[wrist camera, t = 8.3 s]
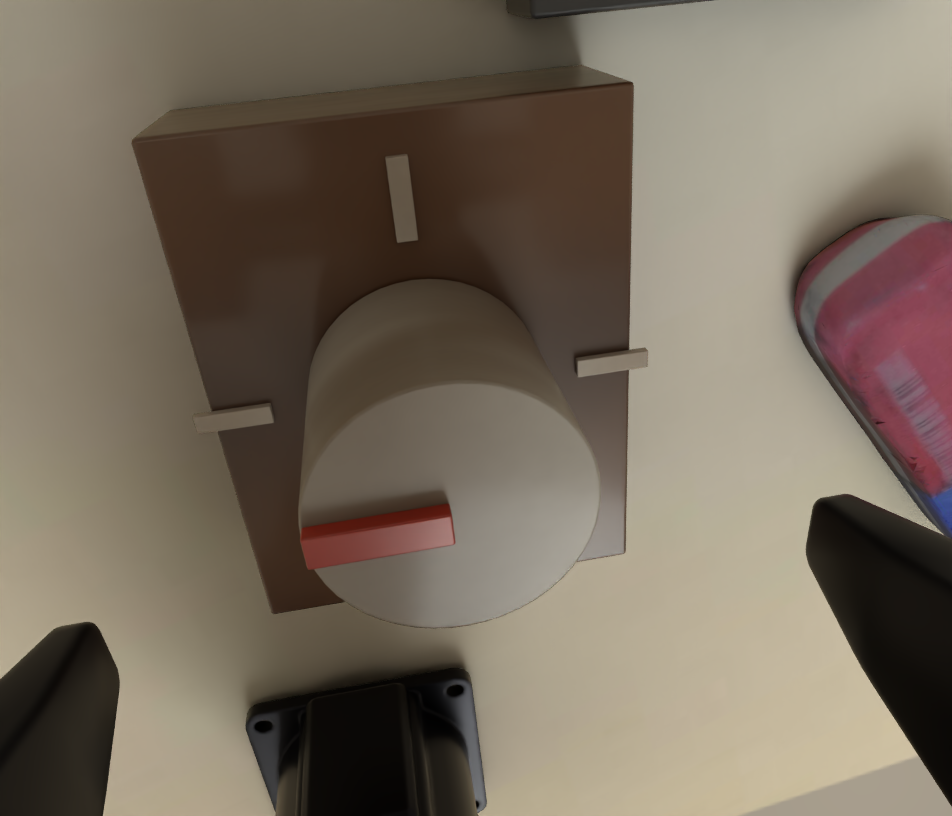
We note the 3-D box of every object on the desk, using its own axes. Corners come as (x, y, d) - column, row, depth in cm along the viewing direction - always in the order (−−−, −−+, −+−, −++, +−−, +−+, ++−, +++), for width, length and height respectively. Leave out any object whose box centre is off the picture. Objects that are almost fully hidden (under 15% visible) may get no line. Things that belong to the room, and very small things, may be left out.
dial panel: (600, 478, 20) (641, 557, 17) (268, 532, 19) (256, 623, 16) (599, 62, 15) (657, 80, 12) (150, 112, 14) (106, 143, 11)
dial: (534, 261, 14) (607, 367, 10) (545, 466, 16) (609, 615, 12) (285, 296, 13) (263, 420, 9) (331, 501, 15) (329, 667, 12)
